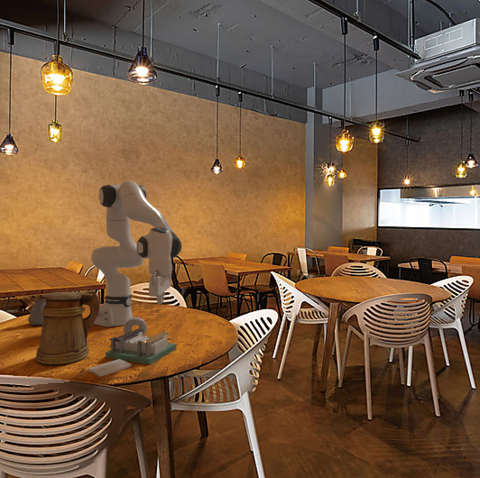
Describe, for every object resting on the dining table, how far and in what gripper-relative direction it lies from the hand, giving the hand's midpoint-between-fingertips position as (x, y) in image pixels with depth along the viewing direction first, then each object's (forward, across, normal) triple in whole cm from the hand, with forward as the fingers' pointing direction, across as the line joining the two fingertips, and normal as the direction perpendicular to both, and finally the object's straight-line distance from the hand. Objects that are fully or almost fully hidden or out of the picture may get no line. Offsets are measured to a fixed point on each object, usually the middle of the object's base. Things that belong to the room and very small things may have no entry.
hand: (160, 303), depth 163 cm
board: (+20, -2, +7) cm, 21 cm away
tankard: (+20, -8, +34) cm, 40 cm away
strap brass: (+14, -4, +1) cm, 15 cm away
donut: (+20, +14, +15) cm, 29 cm away
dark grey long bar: (+14, -1, +13) cm, 19 cm away
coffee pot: (+21, +39, +67) cm, 80 cm away
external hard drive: (+20, -20, +13) cm, 31 cm away
